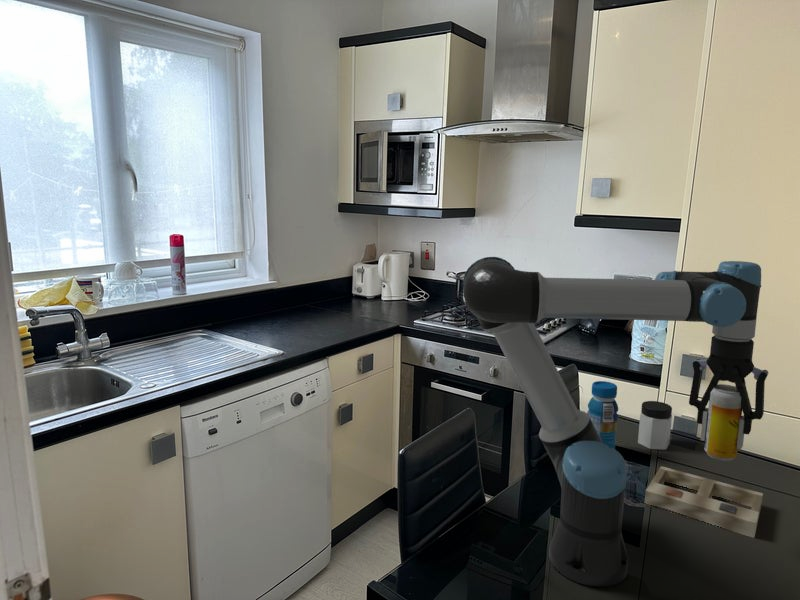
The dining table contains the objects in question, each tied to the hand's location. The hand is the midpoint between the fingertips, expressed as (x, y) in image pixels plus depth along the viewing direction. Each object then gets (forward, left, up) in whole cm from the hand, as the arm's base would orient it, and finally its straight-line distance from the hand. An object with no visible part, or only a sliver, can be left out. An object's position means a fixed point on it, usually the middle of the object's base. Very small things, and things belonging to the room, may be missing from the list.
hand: (721, 442), depth 120 cm
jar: (+13, +43, -21) cm, 50 cm away
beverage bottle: (-5, +41, -21) cm, 47 cm away
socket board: (+5, +10, -21) cm, 24 cm away
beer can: (0, 0, -3) cm, 3 cm away
